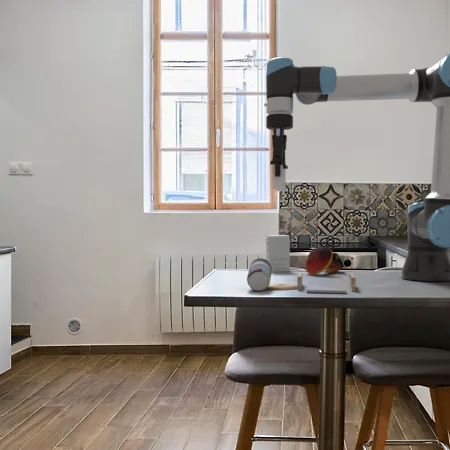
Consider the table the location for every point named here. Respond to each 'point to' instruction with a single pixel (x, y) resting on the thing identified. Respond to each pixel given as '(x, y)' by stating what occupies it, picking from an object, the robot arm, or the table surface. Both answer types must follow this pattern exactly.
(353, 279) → the channel
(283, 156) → the robot arm
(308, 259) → the dark red rounded pieces
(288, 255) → the supplement box
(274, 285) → the coaster
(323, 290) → the pad
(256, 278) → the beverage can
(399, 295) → the table surface
